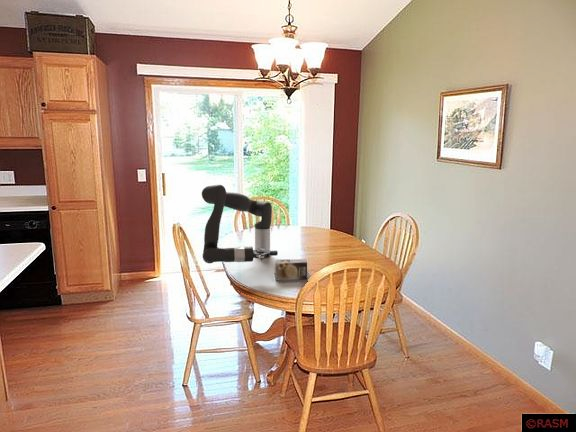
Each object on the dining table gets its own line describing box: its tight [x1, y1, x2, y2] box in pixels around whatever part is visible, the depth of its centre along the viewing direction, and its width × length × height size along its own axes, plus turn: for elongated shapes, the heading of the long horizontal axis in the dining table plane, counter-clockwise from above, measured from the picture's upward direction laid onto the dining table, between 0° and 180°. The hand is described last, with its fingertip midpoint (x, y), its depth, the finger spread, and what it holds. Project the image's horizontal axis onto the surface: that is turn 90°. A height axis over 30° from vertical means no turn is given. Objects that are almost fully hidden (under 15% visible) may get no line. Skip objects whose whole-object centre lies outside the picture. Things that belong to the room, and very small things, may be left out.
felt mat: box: [274, 270, 312, 284], centre depth 214 cm, size 14×18×1 cm
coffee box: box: [274, 258, 308, 281], centre depth 211 cm, size 9×6×16 cm
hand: (277, 252), depth 209 cm, fingers closed
